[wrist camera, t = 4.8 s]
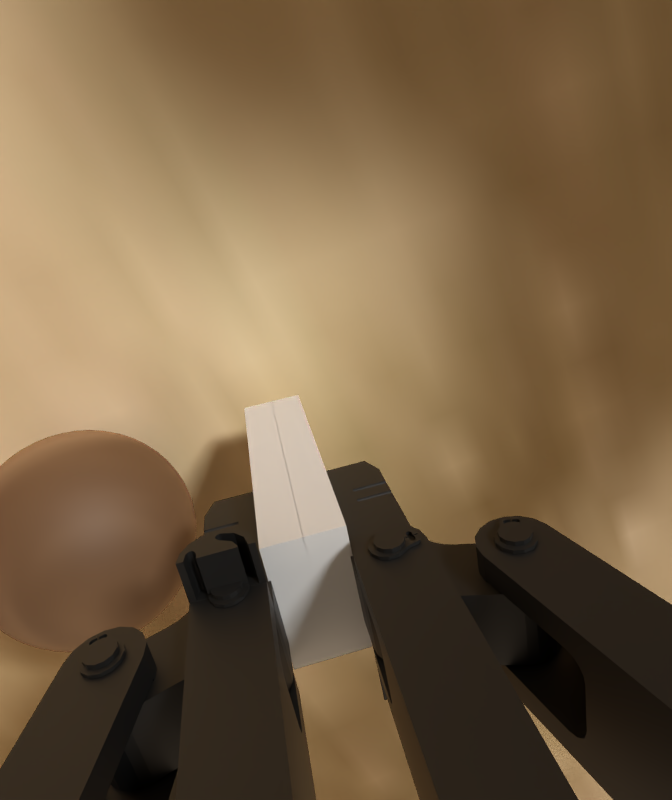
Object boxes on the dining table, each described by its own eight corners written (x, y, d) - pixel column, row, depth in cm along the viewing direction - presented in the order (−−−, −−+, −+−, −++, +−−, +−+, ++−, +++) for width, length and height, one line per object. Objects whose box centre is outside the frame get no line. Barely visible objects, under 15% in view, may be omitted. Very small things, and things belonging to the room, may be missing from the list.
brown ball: (174, 441, 12) (120, 370, 17) (-106, 585, 10) (-83, 461, 15) (255, 609, 15) (191, 509, 19) (45, 747, 13) (27, 602, 18)
